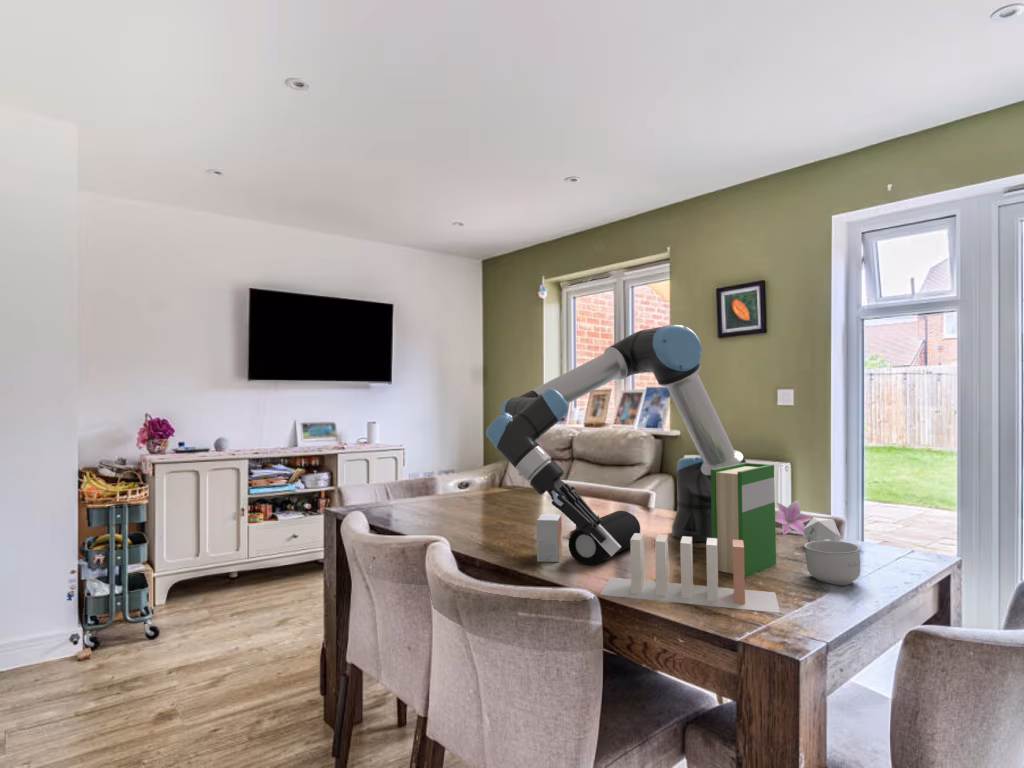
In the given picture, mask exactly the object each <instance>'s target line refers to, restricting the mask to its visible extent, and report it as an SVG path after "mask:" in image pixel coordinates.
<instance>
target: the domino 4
mask: <svg viewBox="0 0 1024 768" xmlns="http://www.w3.org/2000/svg"><path fill="white" fill-rule="evenodd" d="M705 546H706V553H705V554H706V586H707V600H710V601H718V587H719V571H718V552H717V538H707V542H706V544H705Z"/></svg>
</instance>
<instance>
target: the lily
mask: <svg viewBox="0 0 1024 768" xmlns="http://www.w3.org/2000/svg"><path fill="white" fill-rule="evenodd" d="M775 505H776V507H777V510H778V511H777V512H775V523H776V522H777V523H779V524H781V529H782V535H787V534H788V533H789V532H790V531H792V530H794V531H796V532H797V533H799V534H801V535H803V536H805V534H804V531H803V529H804V528H805V526H806V525H805V524H804V523H806V522H809V521H810V520H811V519H812V518H811V517H810V516H808V515H806V514H802V513H801V511H802V510H801V502H800V501H799V500H798V499H796V500H794V501H793V502H791V503H790V504H789V505H788V507H787V506H785V505H783V504H782V503H780V502H775Z"/></svg>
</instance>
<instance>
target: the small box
mask: <svg viewBox="0 0 1024 768" xmlns="http://www.w3.org/2000/svg"><path fill="white" fill-rule="evenodd" d="M562 518H563V517H562V514H557V513H555V514H554V513H551V514H550V513H549V514H548V513H541V514H540V515H539V517H538V518H537V519H536V520H535V521H536V528H535V529H536V561H537V562H543V563H546V562H547V563H560V559H561V558H562V555H563V550H562V549H563V538H562V537H563V536H562V535H563V533H562V532H563V531H562V527H563V526H562Z"/></svg>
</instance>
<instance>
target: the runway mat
mask: <svg viewBox="0 0 1024 768" xmlns="http://www.w3.org/2000/svg"><path fill="white" fill-rule="evenodd" d="M599 595H600V596H601V595H602V596H609V597H618V598H630V599H639V600H647V601H649V600H650V601H656V602H668V603H675V604H676V603H679V604H687V605H688V604H689V605H698V606H706V607H707V606H708V607H716V608H726V609H727V608H728V609H734V610H735V609H738V610H747V611H757V612H764V613H766V612H767V613H777V614H781V610H780V606H779V602H778V599H777V595H776V592H774V591H764V590H763V591H762V590H755V589H753V590H752V589H745V604H740V603H734V588H732V587H731V588H730V587H721V586H720V587H719V586H718V601H710V600H707V585H697V584H693V593H692V599H689V598H681V583H676V582H669V587H668V591H667V594H666V596H659V595H656V580H655V581H654V580H645V585H644V588H643V590H642V593H641V594H639V593H631V578H622V577H619V578H618V577H609V579H608V581H607V582H606V583H605V585H604V587H603V589H602V590H601V593H600V594H599Z"/></svg>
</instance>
